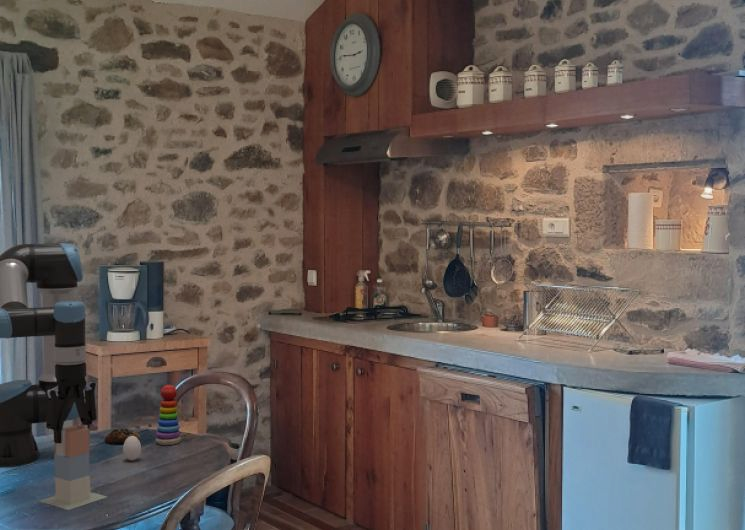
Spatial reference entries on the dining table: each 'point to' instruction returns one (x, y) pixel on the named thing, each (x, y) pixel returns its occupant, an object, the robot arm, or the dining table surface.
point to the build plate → (67, 506)
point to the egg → (132, 448)
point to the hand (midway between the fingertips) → (72, 452)
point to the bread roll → (120, 436)
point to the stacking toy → (168, 418)
